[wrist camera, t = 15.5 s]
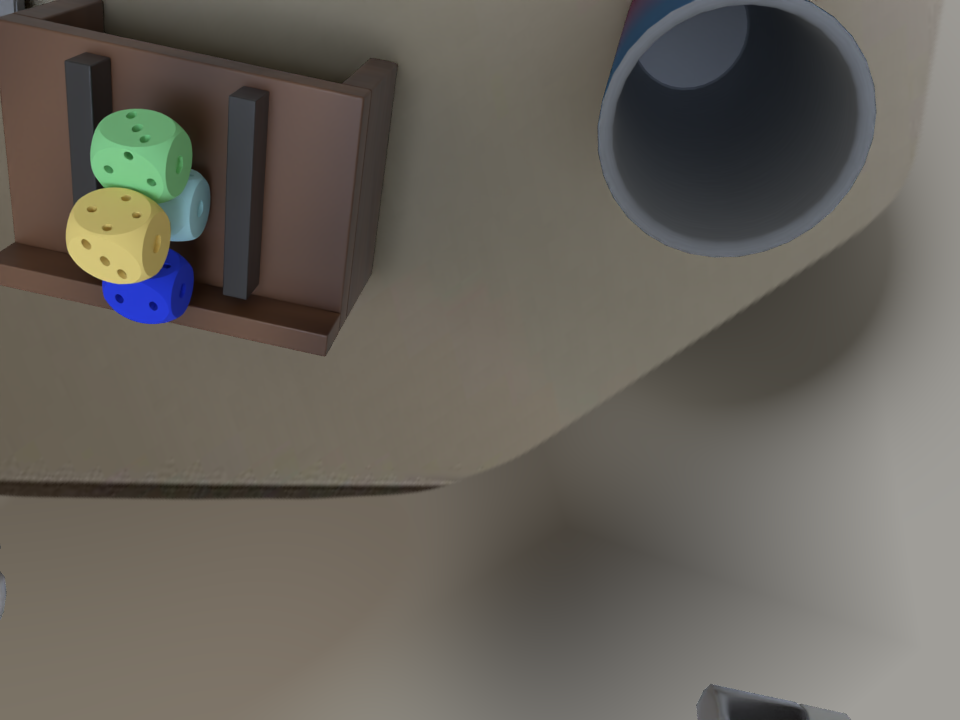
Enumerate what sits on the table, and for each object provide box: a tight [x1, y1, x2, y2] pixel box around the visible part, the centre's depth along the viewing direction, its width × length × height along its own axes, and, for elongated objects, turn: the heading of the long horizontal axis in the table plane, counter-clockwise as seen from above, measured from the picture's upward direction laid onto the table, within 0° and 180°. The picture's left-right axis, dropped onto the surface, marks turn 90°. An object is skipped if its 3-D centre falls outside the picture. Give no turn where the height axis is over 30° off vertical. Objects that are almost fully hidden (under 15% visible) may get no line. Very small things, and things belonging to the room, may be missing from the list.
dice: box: [66, 109, 210, 324], centre depth 32 cm, size 8×3×6 cm, turn 170°
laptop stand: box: [0, 0, 398, 356], centre depth 37 cm, size 14×10×8 cm
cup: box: [598, 0, 876, 257], centre depth 29 cm, size 7×7×15 cm
